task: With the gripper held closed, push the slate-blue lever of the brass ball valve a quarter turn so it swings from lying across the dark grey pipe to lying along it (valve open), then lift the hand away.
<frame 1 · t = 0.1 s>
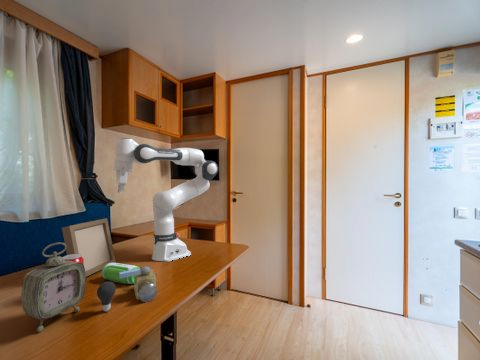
hand: (120, 193, 120), 39 cm above the table, tool pointing down, fingers open, 8 cm apart
tabletop clock: (54, 320, 73), on the table
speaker: (121, 281, 101), on the table
light bulb: (106, 311, 77), on the table
lever: (135, 272, 87), point 9 cm above the table, hinge at 0.0°
valve: (145, 293, 89), on the table
photo frame: (87, 271, 112), on the table
soda can: (71, 294, 89), on the table
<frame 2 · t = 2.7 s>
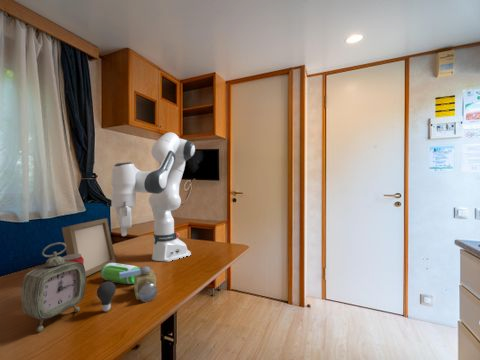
hand: (123, 235, 91), 23 cm above the table, tool pointing down, fingers closed
nothing on the table moved.
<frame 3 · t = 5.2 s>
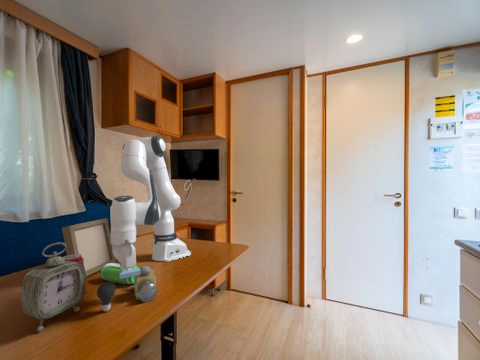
hand: (123, 273, 87), 9 cm above the table, tool pointing down, fingers closed
lever: (135, 272, 87), point 9 cm above the table, hinge at 2.0°, touching gripper
everything else where it was.
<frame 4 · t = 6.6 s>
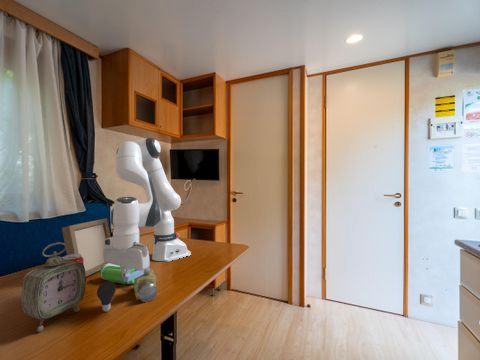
hand: (126, 277, 83), 9 cm above the table, tool pointing down, fingers closed
lever: (137, 273, 86), point 9 cm above the table, hinge at 34.9°, touching gripper
everything else where it was.
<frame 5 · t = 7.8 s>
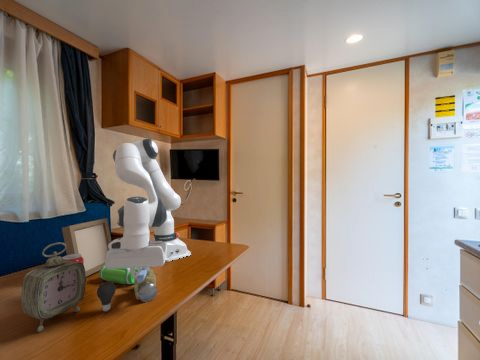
hand: (136, 278, 82), 9 cm above the table, tool pointing down, fingers closed, pressing on lever
lever: (143, 273, 86), point 9 cm above the table, hinge at 69.9°, touching gripper
everything else where it was.
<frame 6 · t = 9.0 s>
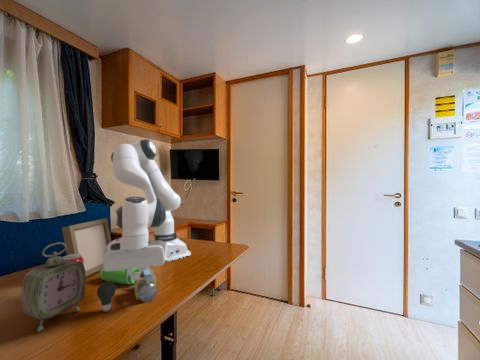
hand: (135, 279, 81), 9 cm above the table, tool pointing down, fingers closed
lever: (146, 273, 86), point 9 cm above the table, hinge at 89.8°
everything else where it was.
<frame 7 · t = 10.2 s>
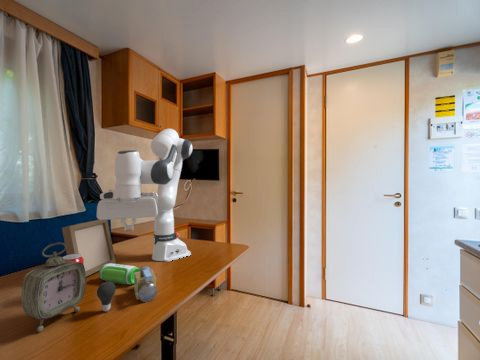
hand: (129, 230, 83), 27 cm above the table, tool pointing down, fingers closed
nothing on the table moved.
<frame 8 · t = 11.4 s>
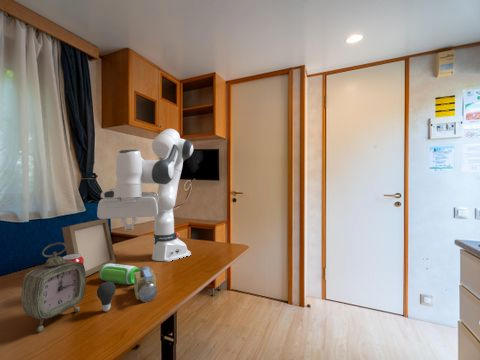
hand: (129, 229, 83), 27 cm above the table, tool pointing down, fingers closed
nothing on the table moved.
at the end: lever at +90° (first picture: +0°); light bulb moved 0.2 cm from its start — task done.
